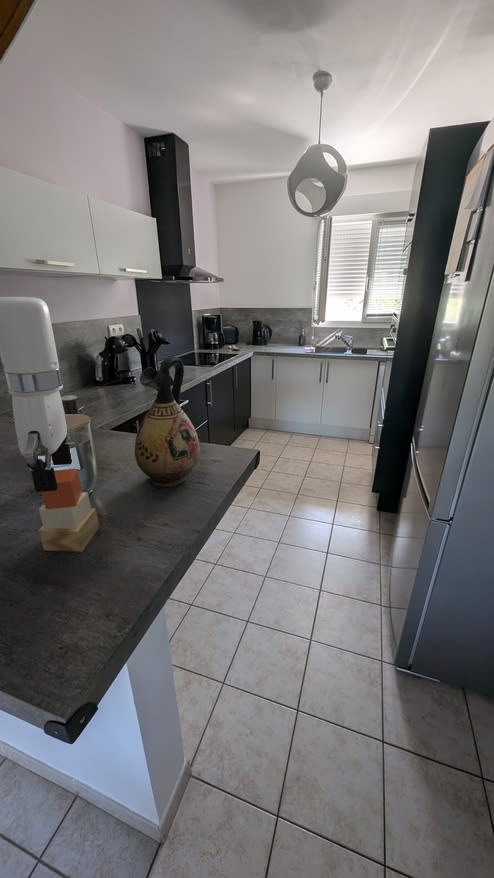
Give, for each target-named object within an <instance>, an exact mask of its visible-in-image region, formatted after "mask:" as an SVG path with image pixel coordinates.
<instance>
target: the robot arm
mask: <svg viewBox="0 0 494 878" xmlns="http://www.w3.org/2000/svg"><path fill="white" fill-rule="evenodd" d="M55 340H56V339H55V336H54V329H53V325H52V319H51V314H50V309H49V306H48V305H47V302H45V300H43V299H41V298H39V297H34V296H0V360H1V364H2V368H3V372H4V376H5V380H6V385H7V388H8V389H7V390H8V393H9V395H12V396H11V400H12V401H11V402H12V403H11V404H12V413H13V421H14V427H15V433H16V438H17V444H18V448H19V452H20V455H21V456H22V457H24V459H25V461H26V466H27V467H28V470H29V472H30V474H31V478H32V482H33V485H34V491H35V492H37V493H41V492H46V491H56V490H57V488H58V486H57V481H56V477H55V472H54V471H55V468H54V467H52V464H53V466H63V465H64V466H65V465H67V466H68V464H71V463H72V459H71V453H70V448H69V444H65V443H68V437H67V436H66V435H67V424H66V418H65V413H64V408H63V404H62V400H61V397H62V396H61V393H60V391H62V390H63V389H64V383H63V379H62V374H61V369H60V368H61V367H60V363H59V357H58V353H57V352H58V351H57V346H56V341H55ZM39 457H44V460H43V459H42V458H39Z"/></svg>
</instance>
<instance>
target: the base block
mask: <svg viewBox="0 0 494 878" xmlns="http://www.w3.org/2000/svg"><path fill="white" fill-rule="evenodd" d="M99 529H100V522H99V517H98V513H97V508H95V507H93V508H92V507H91V511H90V512H89V514H88V515H87V516H86V517H85V518H84V520H83V521H82V522H81V523H80V525H79V526H78V527H77V528H76V529H62V528H44V527H43V525H42V526H41V527H39V529H38V534H39V538H40V542H41V545H42V549H43V551H54V552H77V553H78V552H81V553H82V552H84V550H85V548H86V547H87V546H88V544H89V543H90V542H91V540H92V539H93V537H94V536H96V535H95V534H96V533H98V530H99Z"/></svg>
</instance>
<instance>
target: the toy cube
mask: <svg viewBox="0 0 494 878" xmlns="http://www.w3.org/2000/svg"><path fill="white" fill-rule="evenodd" d="M54 472H55V477H56V481H57V486H58V488H57V490H56V491H46V492H40V493H41V496H42V497H41V498H42V501H43V505H45V508H46V509H53V508H62V507H71V506H76V505H77V503H78V500H79V498H80V496H81V493H82V492H83V489H82V483H81V479H80V473H78V469H70V468H67V469H57V470H55V469H54Z"/></svg>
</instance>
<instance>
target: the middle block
mask: <svg viewBox="0 0 494 878" xmlns="http://www.w3.org/2000/svg"><path fill="white" fill-rule="evenodd" d="M91 508H92V506H91V501H90V497H89V492H87V491H82V493H81V496H80V498H79V500H78V503H77V505H76V506H71V507H62V508H53V509H46V508H45V505H44V504H42V505H41V506H40V507H39V508H38V513H39V515H40V520H41V523H42V526H43V527H44V528H62V529H76V528H77V527H78V526H79V525H80V523H81V522H82V521H83V520H84V518H85V517H86V516H87V515H88V514H89V512H90V511H91Z"/></svg>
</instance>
